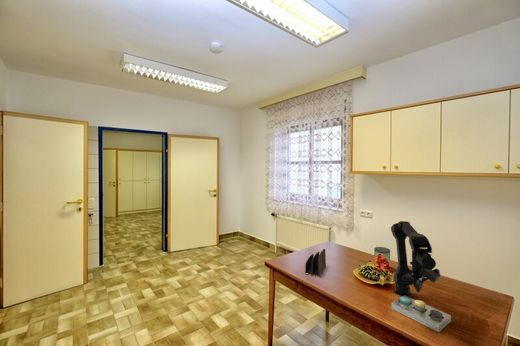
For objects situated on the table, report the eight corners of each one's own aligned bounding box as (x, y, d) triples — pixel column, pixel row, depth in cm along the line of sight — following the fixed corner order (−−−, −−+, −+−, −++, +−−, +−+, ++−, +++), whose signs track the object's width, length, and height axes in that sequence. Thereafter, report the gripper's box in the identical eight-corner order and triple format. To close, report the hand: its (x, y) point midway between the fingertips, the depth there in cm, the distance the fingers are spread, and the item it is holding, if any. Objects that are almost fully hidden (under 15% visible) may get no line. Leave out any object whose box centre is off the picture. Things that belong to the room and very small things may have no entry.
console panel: (391, 308, 124) (391, 302, 124) (404, 300, 131) (404, 295, 131) (438, 332, 106) (438, 325, 106) (450, 321, 113) (450, 315, 113)
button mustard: (412, 310, 119) (412, 301, 119) (417, 307, 122) (417, 299, 122) (422, 314, 116) (422, 306, 115) (427, 311, 118) (427, 303, 118)
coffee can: (371, 265, 177) (371, 247, 176) (385, 265, 177) (385, 246, 176) (378, 272, 166) (379, 252, 166) (393, 271, 167) (393, 251, 166)
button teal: (398, 306, 125) (398, 298, 125) (402, 303, 128) (402, 295, 128) (407, 310, 121) (407, 302, 121) (411, 307, 124) (412, 299, 124)
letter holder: (325, 266, 177) (325, 247, 177) (319, 277, 160) (319, 256, 159) (312, 263, 182) (312, 245, 181) (304, 274, 164) (304, 254, 164)
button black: (428, 320, 114) (428, 312, 113) (432, 317, 116) (432, 308, 116) (439, 326, 110) (439, 317, 110) (444, 322, 112) (444, 313, 112)
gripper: (427, 271, 107) (427, 305, 107) (446, 262, 116) (446, 294, 117) (402, 263, 116) (401, 294, 116) (421, 255, 126) (421, 284, 126)
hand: (418, 292), depth 119 cm, fingers closed
